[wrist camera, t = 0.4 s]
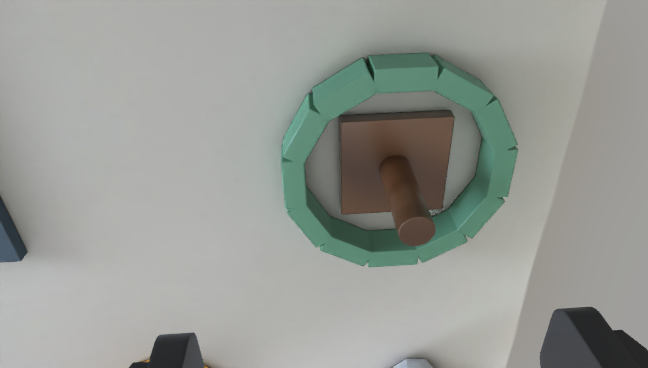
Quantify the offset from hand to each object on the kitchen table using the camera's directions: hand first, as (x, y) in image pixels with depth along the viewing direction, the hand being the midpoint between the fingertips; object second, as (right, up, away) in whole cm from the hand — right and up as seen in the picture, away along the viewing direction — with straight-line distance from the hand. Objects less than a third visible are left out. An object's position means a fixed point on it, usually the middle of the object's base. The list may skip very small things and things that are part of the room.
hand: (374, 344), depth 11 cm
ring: (+3, +5, +20) cm, 21 cm away
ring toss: (+3, +5, +20) cm, 21 cm away
